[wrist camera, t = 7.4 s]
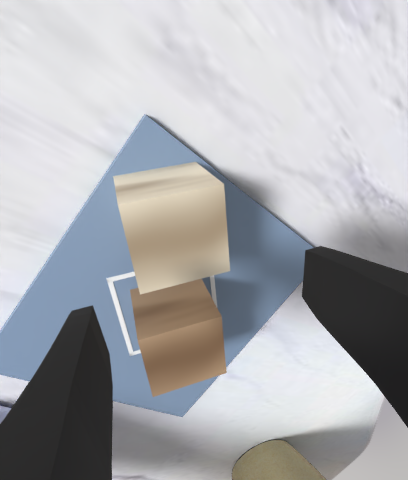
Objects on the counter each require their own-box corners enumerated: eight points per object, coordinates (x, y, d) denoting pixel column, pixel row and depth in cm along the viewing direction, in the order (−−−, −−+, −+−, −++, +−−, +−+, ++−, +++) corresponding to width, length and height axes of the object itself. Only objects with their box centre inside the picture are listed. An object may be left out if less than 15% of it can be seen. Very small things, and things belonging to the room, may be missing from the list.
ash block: (203, 233, 19) (230, 270, 15) (131, 250, 18) (140, 294, 14) (195, 161, 17) (224, 183, 13) (113, 176, 16) (118, 204, 12)
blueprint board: (180, 410, 27) (182, 417, 26) (-21, 361, 19) (-24, 369, 19) (319, 252, 24) (324, 256, 23) (144, 114, 16) (146, 115, 15)
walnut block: (204, 323, 22) (226, 372, 19) (143, 341, 21) (152, 397, 18) (198, 272, 20) (221, 316, 16) (129, 289, 19) (137, 340, 15)
